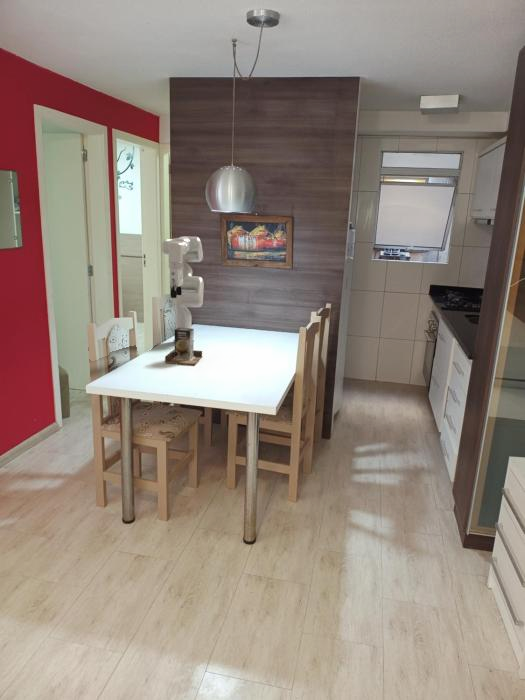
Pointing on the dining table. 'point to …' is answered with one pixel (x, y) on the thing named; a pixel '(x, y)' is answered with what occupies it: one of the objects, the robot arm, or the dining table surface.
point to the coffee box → (184, 343)
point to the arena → (193, 361)
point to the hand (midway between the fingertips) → (176, 296)
